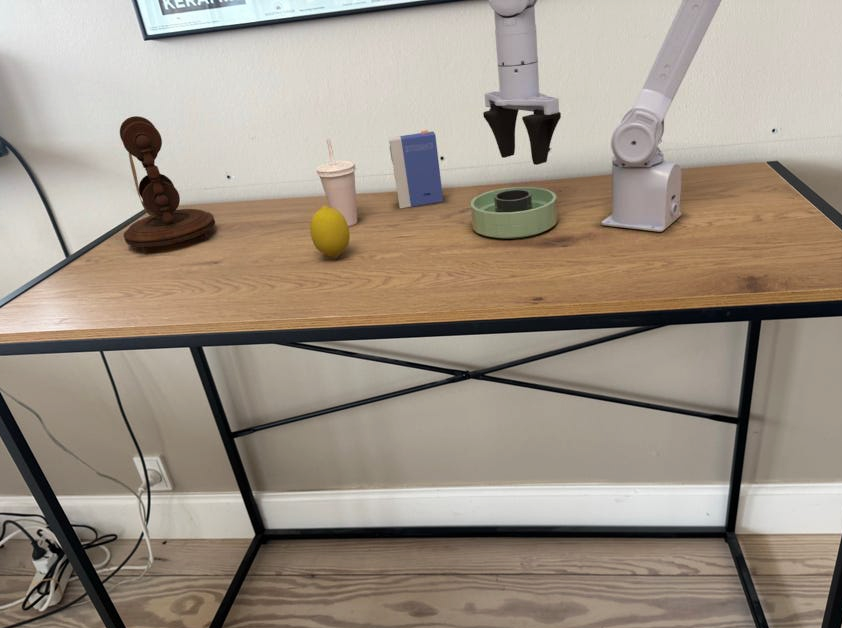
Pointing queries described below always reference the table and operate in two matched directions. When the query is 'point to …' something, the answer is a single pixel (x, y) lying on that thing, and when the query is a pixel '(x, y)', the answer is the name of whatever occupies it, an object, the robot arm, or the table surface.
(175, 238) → the brown pulley stand
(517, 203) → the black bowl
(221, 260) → the table surface
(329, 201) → the smoothie
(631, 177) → the robot arm
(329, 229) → the lemon
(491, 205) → the sage bowl
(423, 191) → the walkman
